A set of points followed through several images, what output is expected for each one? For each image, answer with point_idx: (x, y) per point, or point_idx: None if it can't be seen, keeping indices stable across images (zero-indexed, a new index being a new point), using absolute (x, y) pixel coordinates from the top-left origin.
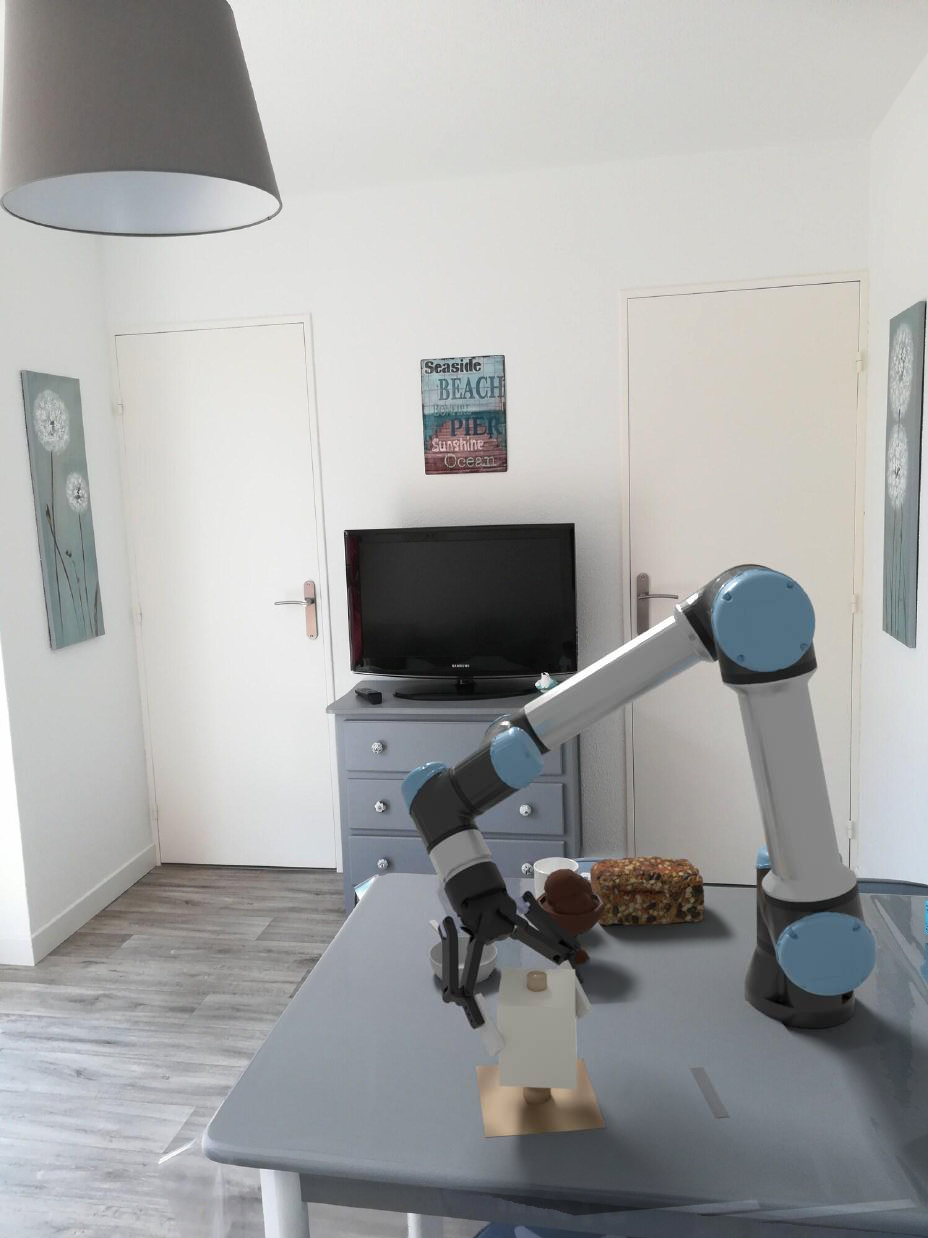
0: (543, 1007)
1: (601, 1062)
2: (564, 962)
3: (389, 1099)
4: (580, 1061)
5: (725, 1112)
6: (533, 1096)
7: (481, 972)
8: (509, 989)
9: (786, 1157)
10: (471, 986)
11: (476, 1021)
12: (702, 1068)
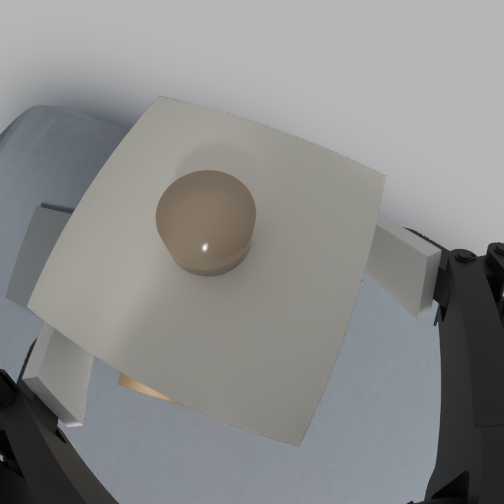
0: (242, 119)
1: (95, 380)
2: (36, 374)
3: (414, 390)
4: (124, 377)
5: (35, 212)
6: None
7: None
8: (327, 253)
9: (42, 155)
10: (463, 269)
11: (411, 231)
12: (7, 294)
